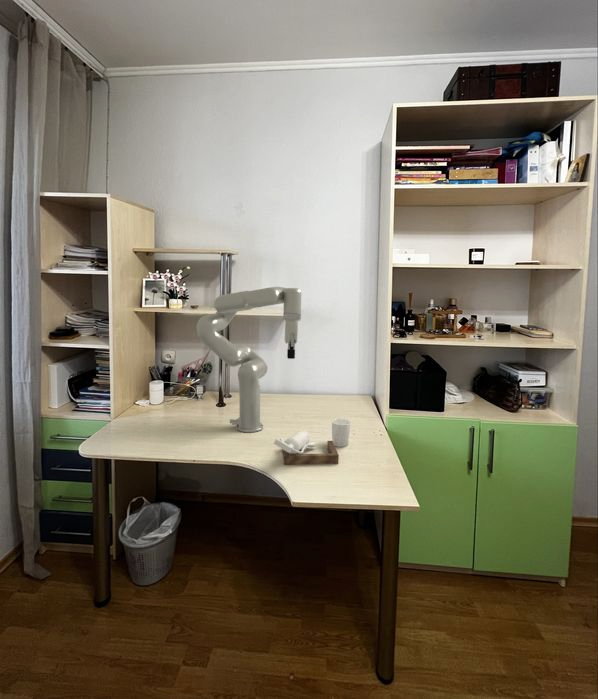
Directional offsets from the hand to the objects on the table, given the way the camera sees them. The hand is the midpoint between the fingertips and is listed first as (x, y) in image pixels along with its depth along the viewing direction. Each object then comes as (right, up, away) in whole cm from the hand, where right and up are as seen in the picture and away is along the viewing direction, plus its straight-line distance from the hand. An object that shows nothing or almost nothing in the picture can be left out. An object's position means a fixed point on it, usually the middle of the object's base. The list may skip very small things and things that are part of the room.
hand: (291, 358), depth 202 cm
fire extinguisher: (+5, -34, -7) cm, 35 cm away
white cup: (+21, -37, -4) cm, 43 cm away
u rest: (+8, -39, -18) cm, 44 cm away
